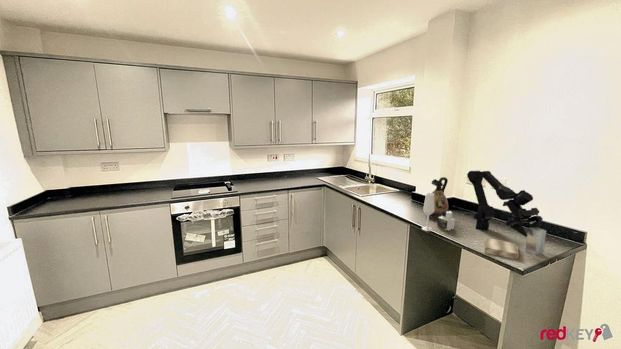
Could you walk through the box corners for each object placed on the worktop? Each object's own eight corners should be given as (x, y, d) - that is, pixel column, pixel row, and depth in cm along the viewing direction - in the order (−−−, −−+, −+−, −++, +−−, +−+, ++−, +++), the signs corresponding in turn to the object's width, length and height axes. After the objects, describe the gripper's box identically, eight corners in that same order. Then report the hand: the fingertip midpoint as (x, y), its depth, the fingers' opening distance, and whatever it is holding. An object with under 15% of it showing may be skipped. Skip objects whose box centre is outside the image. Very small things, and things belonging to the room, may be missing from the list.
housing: (534, 255, 133) (538, 231, 131) (525, 250, 138) (528, 227, 136) (542, 254, 134) (546, 230, 132) (532, 249, 139) (536, 227, 137)
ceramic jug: (434, 220, 182) (437, 179, 177) (420, 213, 197) (423, 175, 191) (454, 218, 186) (458, 178, 181) (439, 211, 201) (442, 174, 195)
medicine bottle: (437, 227, 171) (438, 210, 169) (444, 225, 174) (446, 208, 172) (446, 231, 165) (448, 213, 162) (454, 229, 167) (455, 211, 165)
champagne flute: (434, 229, 167) (438, 194, 163) (429, 232, 163) (432, 195, 159) (425, 226, 172) (428, 191, 168) (419, 228, 169) (422, 193, 164)
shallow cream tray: (484, 252, 136) (485, 247, 136) (484, 242, 148) (484, 237, 147) (517, 259, 129) (518, 254, 128) (514, 248, 141) (515, 243, 140)
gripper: (513, 203, 136) (531, 231, 128) (541, 201, 140) (561, 228, 131) (498, 213, 145) (514, 239, 137) (525, 210, 149) (542, 236, 140)
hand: (533, 235), depth 136 cm, fingers open, 9 cm apart
